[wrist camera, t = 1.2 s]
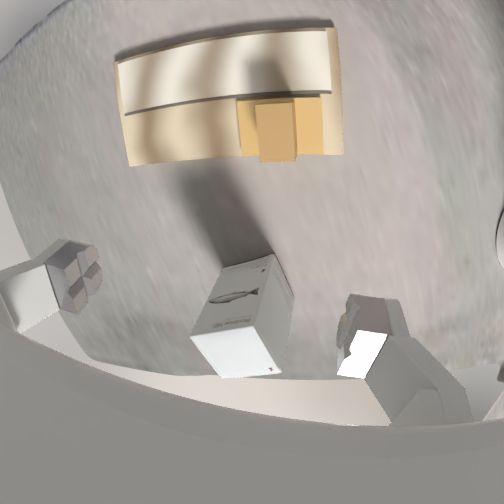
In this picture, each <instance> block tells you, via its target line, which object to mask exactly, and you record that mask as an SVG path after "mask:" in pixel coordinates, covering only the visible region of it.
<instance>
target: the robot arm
mask: <svg viewBox="0 0 504 504" xmlns="http://www.w3.org/2000/svg"><path fill="white" fill-rule="evenodd" d="M496 248H497V255H498V259H499V261H500V263H501V265H502V267H503V268H504V213H503V215H502V218H501V220H500V223H499V227H498V232H497V240H496ZM98 258H99V256H98V252H97V248H95V247H94V246H93V245H88V244H84V243H80V242H76V241H71V240H67V239H58V240H57V241H55V242H54V243H53V244H52V245H51V246H49V247H48V248H47V249H46V250H45V251H43V252H42V253H41V254H40V255H39V256H37V257H36V258H35V259H34V260H33V261H32V260H29V261H26V262H23V263H20V264H18V265H15V266H12V267H9V268H7V269H4V270H1V271H0V504H504V418H501V419H495V420H488V421H480V422H474V421H473V418H472V413H471V409H470V405H469V402H468V399H467V395H466V391H465V388H464V387H463V386H462V385H461V384H460V383H459V382H458V381H457V380H456V379H455V378H454V377H453V376H452V375H451V374H450V373H449V372H448V371H447V370H446V369H445V368H444V367H443V366H442V365H441V364H440V363H439V362H438V361H437V360H436V359H435V358H434V357H433V356H432V355H431V354H430V353H429V352H428V351H427V350H426V349H425V348H424V347H423V346H422V345H421V344H420V343H419V342H418V341H417V340H416V339H415V338H410V334H409V331H408V327H407V324H406V321H405V317H404V314H403V311H402V308H401V305H400V302H399V301H398V300H396V299H388V298H376V297H369V296H363V295H356V294H350V296H349V297H348V300H347V302H346V313H345V314H343V315H342V316H341V319H340V322H339V325H338V330H337V338H336V341H337V347H338V348H339V349H340V351H339V353H338V356H337V373H338V374H339V375H346V376H354V377H362V378H364V380H365V381H366V383H367V384H368V386H369V387H370V389H371V390H372V392H373V393H374V395H375V397H376V398H377V400H378V401H379V403H380V404H381V406H382V407H383V409H384V411H385V412H386V414H387V415H388V417H389V419H390V420H391V422H392V423H391V424H390V425H389V426H365V425H347V424H334V423H322V422H312V421H305V420H297V419H289V418H282V417H275V416H269V415H263V414H257V413H252V412H246V411H241V410H236V409H231V408H227V407H222V406H217V405H213V404H209V403H205V402H200V401H196V400H193V399H189V398H185V397H181V396H178V395H174V394H170V393H167V392H163V391H161V390H157V389H154V388H151V387H148V386H145V385H141V384H138V383H135V382H132V381H130V380H127V379H124V378H121V377H118V376H115V375H113V374H110V373H107V372H105V371H102V370H100V369H97V368H94V367H92V366H89V365H87V364H85V363H82V362H80V361H77V360H75V359H73V358H70V357H68V356H66V355H64V354H61V353H59V352H57V351H55V350H53V349H51V348H48V347H46V346H44V345H42V344H40V343H38V342H36V341H34V340H32V339H30V338H28V337H26V336H24V335H22V334H20V333H22V332H23V331H25V330H27V329H28V328H30V327H32V326H33V325H35V324H37V323H38V322H40V321H42V320H43V319H45V318H47V317H48V316H50V315H52V314H54V313H55V312H57V311H59V310H60V309H62V310H65V311H68V312H71V313H74V314H77V315H78V314H79V313H80V312H81V311H82V309H83V308H84V307H85V306H86V304H87V303H88V297H90V296H92V295H95V294H96V292H97V291H98V290H99V288H100V285H101V282H102V271H101V268H100V266H99V265H98V263H97V260H98Z"/></svg>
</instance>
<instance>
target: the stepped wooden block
mask: <svg viewBox="0 0 504 504" xmlns="http://www.w3.org/2000/svg"><path fill="white" fill-rule="evenodd" d="M237 110H238V119H239V129H240V139H241V148H242V156H256V155H259V156H260V162H276V161H295V160H296V156H297V154H324V149H323V121H322V101H321V97H302V98H275V99H258V100H246V101H237Z"/></svg>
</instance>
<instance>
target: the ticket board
mask: <svg viewBox="0 0 504 504" xmlns="http://www.w3.org/2000/svg"><path fill="white" fill-rule="evenodd" d="M113 66H114V74H115V82H116V90H117V97H118V104H119V110H120V117H121V123H122V129H123V134H124V140H125V145H126V151H127V156H128V161H129V166H130V167H131V166H138V165H146V164H155V163H163V162H173V161H183V160H194V159H206V158H219V157H236V156H242V148H241V139H240V129H239V119H238V110H237V101H246V100H258V99H275V98H302V97H321V101H322V121H323V149H324V154H333V155H343V111H342V89H341V73H340V59H339V47H338V37H337V28H289V29H273V30H262V31H252V32H243V33H236V34H229V35H222V36H216V37H210V38H205V39H199V40H194V41H190V42H185V43H180V44H176V45H172V46H168V47H164V48H160V49H156V50H152V51H149V52H145V53H142V54H139V55H135V56H132V57H129V58H126V59H123V60H120V61H117V62H114V63H113Z"/></svg>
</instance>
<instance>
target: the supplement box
mask: <svg viewBox="0 0 504 504" xmlns="http://www.w3.org/2000/svg"><path fill="white" fill-rule="evenodd" d="M293 304H294V296H293V294H292V291H291V289H290V287H289V285H288V282H287V280H286V278H285V276H284V273H283V271H282V269H281V267H280V265H279V263H278V260H277V258H276V256H275V254H271V255H268V256H265V257H262V258H259V259H256V260H252V261H249V262H245V263H241V264H237V265H234V266H229V267H225V268H223V270H222V271H221V274H220V276H219V277H218V279H217V281H216V284H215V285H214V287H213V290H212V292H211V294H210V296H209V298H208V300H207V302H206V304H205V306H204V308H203V310H202V312H201V314H200V316H199V318H198V320H197V322H196V324H195V326H194V328H193V331H192V333H191V335H190V338H191V339H192V341H193V342H194V343H195V345H196V346H197V347H198V349H199V350H200V351H201V353H202V354H203V355H204V357H205V358H206V359H207V361H208V362H209V363H210V364H211V366H212V367H213V368H214V370H215V371H216V372H217V374H218V375H219V376H220V378H223V379H227V378H239V377H250V376H259V375H267V374H276V373H282V372H283V366H284V360H285V354H286V348H287V342H288V336H289V330H290V323H291V317H292V310H293Z"/></svg>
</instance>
